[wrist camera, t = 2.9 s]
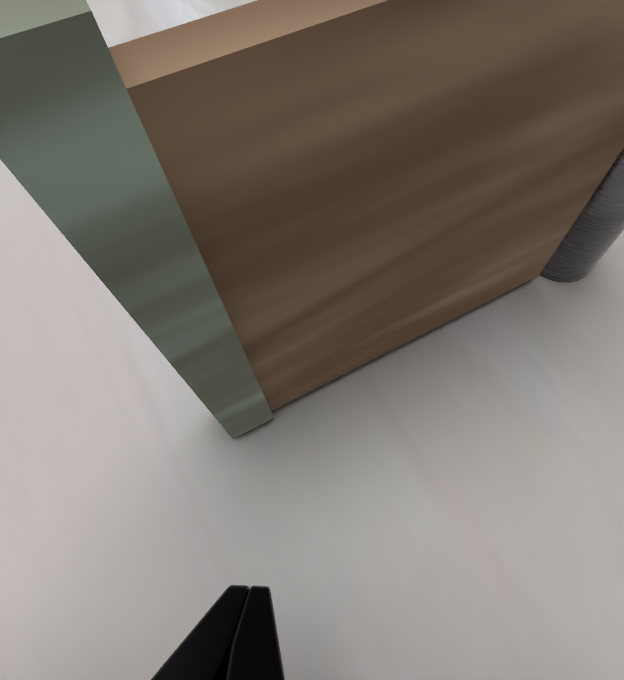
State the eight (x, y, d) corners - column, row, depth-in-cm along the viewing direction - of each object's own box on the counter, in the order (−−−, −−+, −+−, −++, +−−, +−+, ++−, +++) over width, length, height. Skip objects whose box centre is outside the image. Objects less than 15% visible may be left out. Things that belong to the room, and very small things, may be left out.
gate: (543, 280, 19) (896, -232, 7) (233, 438, 17) (-82, 61, 4) (516, 253, 20) (789, -245, 8) (216, 401, 17) (-85, -5, 5)
